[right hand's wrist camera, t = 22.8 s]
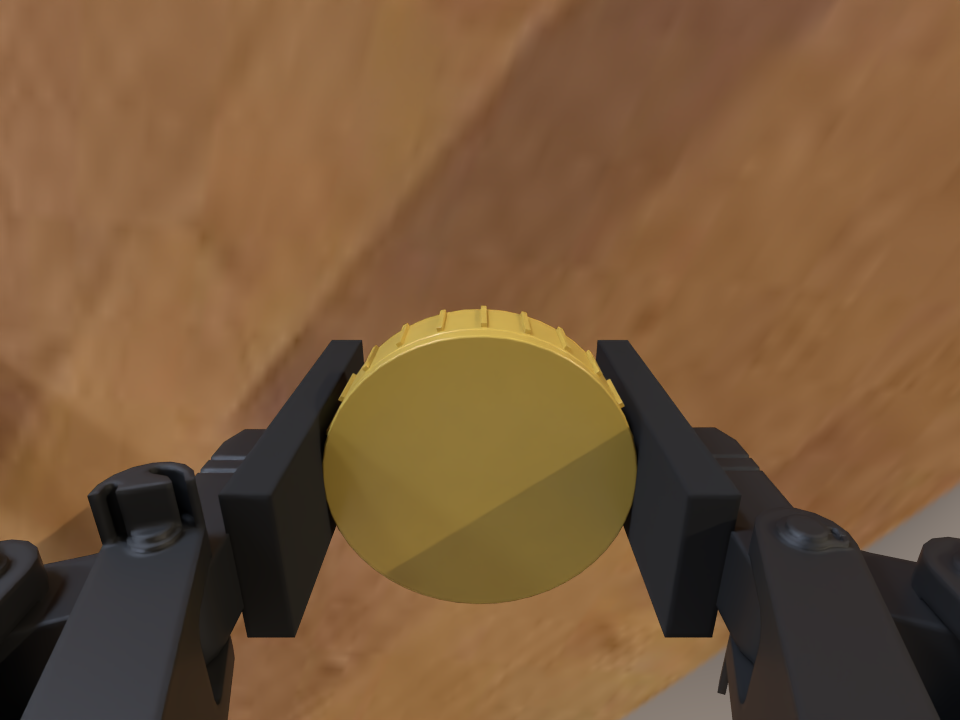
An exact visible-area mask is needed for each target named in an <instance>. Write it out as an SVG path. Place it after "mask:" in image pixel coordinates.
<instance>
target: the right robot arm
mask: <svg viewBox="0 0 960 720" xmlns="http://www.w3.org/2000/svg"><path fill="white" fill-rule="evenodd" d="M596 362H597V364H598V366H599V368H600V370H601V372H602V374H603V376H604V378H605V379H606V381H607V380H609V379H610V380H611V382H612V384H613V385H614V387H615V389H616V391H617V393H618V395H619V396H620V398H621V400H622V402H623V404H624V407H622V408H621V410H622V412H623V413H624V415H625V418H626V420H627V422H628V425H629V427H630V430H631V432H632V435H633V437H634V439H633V440H634V444H635V448H636V455H637V476H636V484H635V492H634V498H633V503H632V506H631V508H630V511H629V513H628V516H627V519H626V521H625V523H624V524H623V526H624V529H625V531H626V534H627V537H628V539H629V542H630V545H631V547H632V550H633V553H634V555H635V558H636V561H637V564H638V566H639V569H640V572H641V574H642V577H643V580H644V582H645V585H646V588H647V590H648V593H649V596H650V599H651V601H652V604H653V607H654V609H655V612H656V615H657V617H658V620H659V623H660V626H661V628H662V631H663V634H664V636H665V637H712V635H713V630H714V626H715V621H716V616H717V611H718V610H719V612H720V614H721V616H722V618H723V620H724V622H725V624H726V626H727V628H728V630H729V632H730V636H729V640H728V645H727V649H726V654H725V658H724V662H723V667H722V671H721V676H720V680H719V687H718V693H721V694H724V695H725V693H726V689H727V685H728V684H729V692H730V701H731V710H732V719H733V720H960V539H959V538H952V537H943V538H933V539H931V540H929V541H928V542H927V543H925V544H924V545H923V547H922V550H921V553H920V555H919V558H918V561H917V562H913V561H908V560H903V559H898V558H893V557H888V556H884V555H879V554H873V553H869V552H865V551H862V550H860V549H859V547H858V545H857V543H856V542H855V541H854V539H853V538H852V537H851V535H850V534H849V533H848V532H847V531H845V530H844V529H843V528H841V527H840V526H839V525H837V524H836V523H834V522H833V521H831V520H829V519H826V518H824V517H822V516H820V515H818V514H815V513H812V512H808V511H805V510H801V509H797V508H793V507H792V505H791V504H790V503H789V502H788V501H787V499H786V498H785V497H784V496H783V495H782V494H781V492H780V491H779V490H778V489H777V488H776V487H775V485H774V484H773V483H772V482H771V481H770V480H769V478H768V477H767V476H766V475H765V474H764V472H763V471H760V470H759V467H758V465H757V464H756V463H755V462H754V461H753V460H752V458H749V455H748V454H747V453H746V451H745V450H744V449H743V448H742V447H741V445H740V444H739V443H738V442H737V441H736V440H735V439H733V438H731V437H730V436H728V435H727V434H725V433H723V432H722V431H720V430H718V429H717V428H692V427H691V426H690V424H689V423H688V421H687V420H686V419H685V417H684V416H683V415H682V413H681V412H680V411H679V409H678V408H677V407H676V405H675V404H674V402H673V401H672V400H671V398H670V397H669V396H668V394H667V393H666V392H665V390H664V389H663V387H662V386H661V385H660V383H659V382H658V381H657V379H656V378H655V377H654V375H653V374H652V373H651V371H650V370H649V368H648V367H647V366H646V364H645V363H644V362H643V360H642V359H641V358H640V356H639V355H638V354H637V352H636V351H635V349H634V348H633V347H632V345H631V344H630V343H629V341H628V340H598V342H597V354H596ZM363 365H364V358H363V346H362V340H332V341H331V342H330V344H329V345H328V346H327V348H326V349H325V350H324V352H323V353H322V354H321V356H320V357H319V358H318V360H317V361H316V363H315V364H314V365H313V367H312V368H311V369H310V371H309V372H308V373H307V375H306V376H305V377H304V379H303V380H302V382H301V383H300V384H299V386H298V387H297V388H296V390H295V391H294V392H293V394H292V395H291V396H290V398H289V399H288V401H287V402H286V403H285V405H284V406H283V407H282V409H281V410H280V411H279V413H278V414H277V416H276V417H275V418H274V420H273V421H272V422H271V424H270V425H269V426H268V428H267V429H245V430H243V431H241V432H240V433H238V434H236V435H235V436H233V437H232V438H230V439H228V440H227V441H225V442H224V443H223V444H222V445H221V446H220V447H219V449H218V450H217V451H216V452H215V453H214V454H213V456H212V457H211V460H208V462H207V463H206V464H205V465H204V466H203V467H202V469H201V472H200V473H197V475H196V476H195V475H194V470H192V469H191V468H189V467H188V466H187V465H185V464H180V463H175V462H157V463H150V464H145V465H141V466H136V467H132V468H130V469H127V470H125V471H122V472H120V473H117V474H115V475H113V476H111V477H110V478H108V479H106V480H105V481H103V482H101V483H100V484H98V485H97V486H96V487H95V488H94V489H93V490H92V491H91V493H90V494H89V495H88V500H89V503H90V506H91V509H92V512H93V516H94V519H95V522H96V525H97V528H98V532H99V535H100V538H101V541H102V544H103V546H102V548H101V550H100V552H99V553H96V554H93V555H88V556H84V557H79V558H74V559H69V560H64V561H59V562H54V563H50V564H45V565H43V562H42V559H41V557H40V554H39V551H38V548H37V547H36V546H34V545H33V544H32V543H30V542H29V541H22V540H6V541H0V720H228V711H229V703H230V694H231V685H232V677H233V668H234V659H235V657H234V650H233V645H232V640H231V636H230V634H231V632H232V630H233V628H234V626H235V624H236V622H237V620H238V618H239V616H240V614H241V612H242V613H243V618H244V623H245V627H246V632H247V637H295V635H296V633H297V630H298V627H299V625H300V622H301V619H302V616H303V614H304V611H305V608H306V606H307V603H308V600H309V598H310V595H311V592H312V590H313V587H314V584H315V581H316V579H317V576H318V573H319V571H320V568H321V565H322V563H323V560H324V557H325V555H326V552H327V549H328V546H329V544H330V541H331V538H332V536H333V533H334V530H335V528H336V523H335V521H334V519H333V517H332V515H331V512H330V509H329V506H328V503H327V500H326V495H325V487H324V479H323V468H322V460H323V453H324V446H325V442H326V438H327V435H326V431H327V429H328V427H329V425H330V423H331V421H332V419H333V417H334V415H335V413H336V412H337V410H338V408H339V406H340V405H341V403H342V402H341V401H339V400H338V399H339V398H340V396H341V394H342V392H343V390H344V388H345V387H346V385H347V383H348V381H349V379H350V377H351V376H352V374H353V373H354V374H356V375H357V374H358V372H359V371H360V369H361V368H362V366H363Z"/></svg>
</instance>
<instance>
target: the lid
mask: <svg viewBox="0 0 960 720" xmlns="http://www.w3.org/2000/svg"><path fill="white" fill-rule="evenodd" d="M338 400H339V401H341V402H342V403H341V405H340V406H339V408H338V410H337V412H336V413H335V415H334V417H333V419H332V421H331V423H330V425H329V427H328V429H327V431H326V435H327V438H326V442H325V446H324V453H323V460H322V468H323V479H324V487H325V495H326V500H327V503H328V506H329V509H330V512H331V515H332V517H333V519H334V521H335V523H336V525H337V527H338V529H339V531H340V532H341V534H342V535H343V537H344V538H345V539H346V541H347V542H348V544H349V545H350V546H351V547H352V548H353V550H354V551H355V552H356V553H357V554H358V555H359V556H360V557H361V558H362V559H363V560H364V561H365V562H366V563H367V564H369V565H370V566H371V567H372V568H373V569H374V570H376V571H377V572H379V573H380V574H382V575H383V576H385V577H386V578H388V579H389V580H391V581H393V582H395V583H397V584H399V585H401V586H402V587H404V588H407V589H409V590H412V591H414V592H417V593H419V594H422V595H425V596H429V597H432V598H436V599H440V600H445V601H451V602H457V603H470V604H490V603H501V602H509V601H515V600H519V599H523V598H528V597H532V596H534V595H537V594H540V593H543V592H546V591H549V590H551V589H553V588H555V587H557V586H559V585H561V584H563V583H565V582H567V581H569V580H570V579H572V578H573V577H575V576H577V575H578V574H580V573H581V572H582V571H584V570H585V569H586V568H587V567H589V566H590V565H591V564H592V563H594V562H595V561H596V560H597V559H598V558H599V557H600V556H601V555H602V554H603V553H604V552H605V551H606V550H607V548H608V547H609V546H610V544H611V543H612V542H613V540H614V539H615V538H616V536H617V535H618V533H619V532H620V530H621V528H622V526H623V524H624V523H625V521H626V519H627V516H628V513H629V511H630V508H631V506H632V503H633V498H634V492H635V484H636V476H637V455H636V448H635V444H634V440H633V439H634V437H633V435H632V432H631V430H630V427H629V425H628V422H627V420H626V418H625V415H624V413H623V412H622V410H621V408H622V407H624V404H623V402H622V400H621V398H620V396H619V395H618V393H617V391H616V389H615V387H614V385H613V384H612V382H611V380H610V379H609V380H607V381H606V379H605V378H604V376H603V374H602V372H601V370H600V368H599V366H598V364H597V362H596V360H595V358H594V356H593V354H592V353H591V352H590V351H589V350H588V351H587V352H585V351H584V350H583V349H582V348H581V347H580V346H578V345H577V344H576V343H575V342H574V341H573V340H571V339H570V338H569V337H567V336H566V335H565V333H564V331H563V329H562V328H560V327H558V328H557V329H555V328H553V327H551V326H549V325H547V324H545V323H543V322H541V321H538V320H535V319H533V318H530V317H528V316H527V313H526V312H521V314H516V313H511V312H507V311H500V310H488V309H487V308H486V306H481V309H473V310H460V311H454V312H448V313H446V310H441V311H440V315H436V316H433V317H430V318H426V319H424V320H422V321H419V322H417V323H415V324H413V325H411V326H409V324H408V323H407V324H405V325H403V327H402V330H401V331H400V332H399V333H397V334H395V335H394V336H392V337H391V338H390V339H388V340H387V341H386V342H385V343H384V344H382V345H381V346H380V347H378V346H377V345H375V346H374V347H373V348H372V350H371V352H370V354H369V356H368V358H367V360H366V362H365V363H364V365H363V366H362V368H361V369H360V371H359V372H358V374H357V375H356V374H354V373H353V374H352V376H351V377H350V379H349V381H348V383H347V385H346V387H345V388H344V390H343V392H342V394H341V396H340V398H339V399H338Z"/></svg>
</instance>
